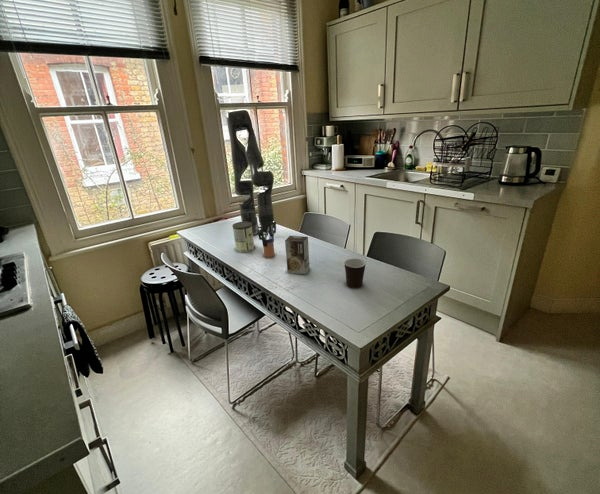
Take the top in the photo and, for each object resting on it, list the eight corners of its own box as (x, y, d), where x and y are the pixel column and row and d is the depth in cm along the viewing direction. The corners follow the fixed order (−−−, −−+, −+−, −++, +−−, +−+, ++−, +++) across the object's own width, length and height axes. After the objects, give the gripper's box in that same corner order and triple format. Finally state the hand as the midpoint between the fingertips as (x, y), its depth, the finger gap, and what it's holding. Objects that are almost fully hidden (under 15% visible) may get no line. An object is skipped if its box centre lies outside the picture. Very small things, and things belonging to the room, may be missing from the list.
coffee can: (238, 245, 180) (235, 221, 174) (256, 245, 179) (253, 221, 173) (233, 252, 170) (229, 227, 165) (252, 252, 169) (249, 227, 164)
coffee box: (309, 268, 148) (308, 236, 142) (305, 274, 143) (304, 241, 136) (291, 266, 151) (289, 235, 144) (286, 272, 145) (284, 240, 139)
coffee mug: (360, 291, 127) (360, 269, 123) (340, 286, 132) (340, 264, 127) (370, 279, 136) (371, 258, 132) (351, 275, 140) (352, 254, 136)
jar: (267, 252, 168) (266, 236, 164) (276, 254, 165) (275, 237, 161) (262, 256, 163) (260, 239, 159) (270, 258, 161) (269, 241, 157)
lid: (266, 238, 165) (266, 235, 164) (275, 239, 162) (275, 236, 161) (260, 242, 160) (259, 238, 159) (269, 243, 157) (269, 240, 157)
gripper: (267, 208, 162) (269, 238, 169) (250, 215, 151) (254, 248, 157) (279, 209, 159) (281, 240, 166) (264, 217, 147) (267, 250, 154)
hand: (268, 244), depth 162 cm, fingers closed on lid, 5 cm apart
